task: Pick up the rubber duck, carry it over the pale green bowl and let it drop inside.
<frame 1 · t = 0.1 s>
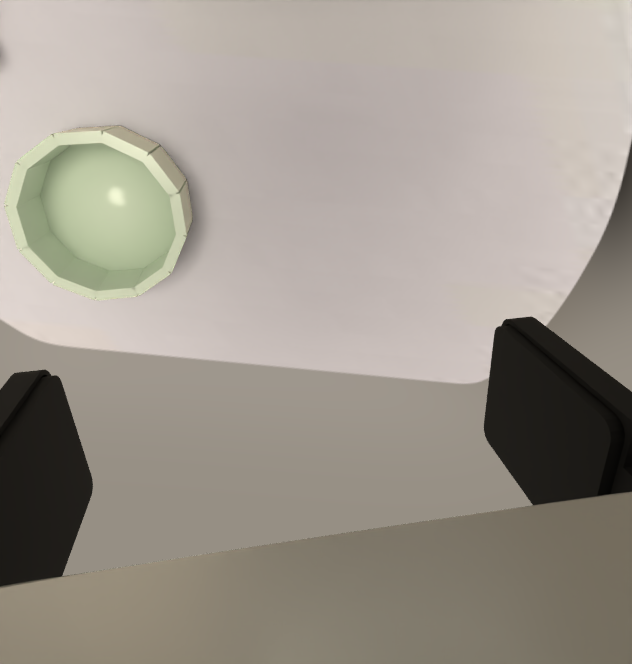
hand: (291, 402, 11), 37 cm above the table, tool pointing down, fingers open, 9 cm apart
pale green bowl: (115, 205, 43), on the table
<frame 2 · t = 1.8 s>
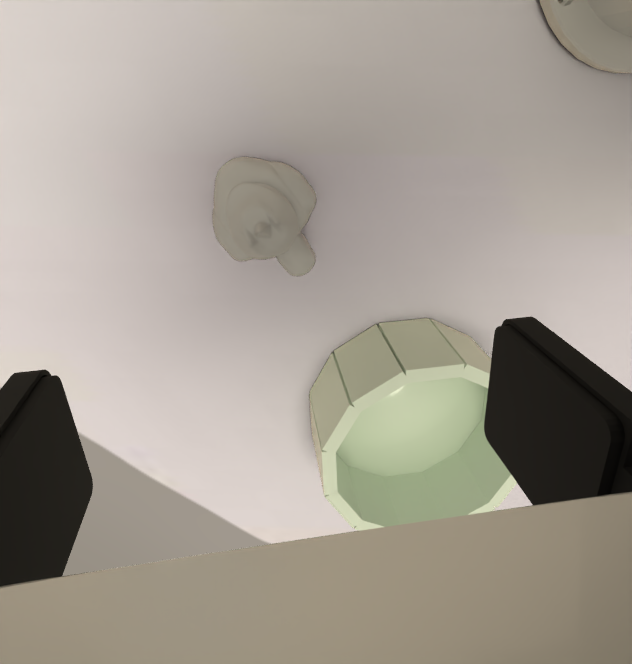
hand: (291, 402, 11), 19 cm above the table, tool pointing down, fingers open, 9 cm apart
rubber duck: (265, 207, 28), on the table
pale green bowl: (400, 403, 35), on the table
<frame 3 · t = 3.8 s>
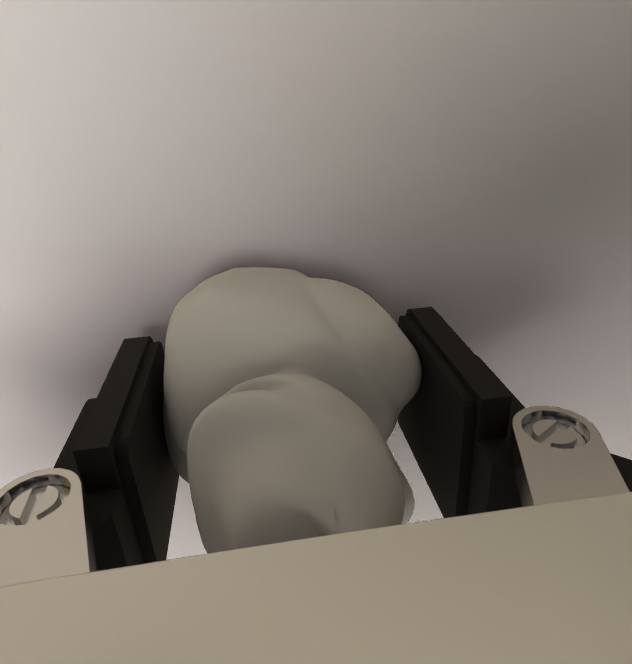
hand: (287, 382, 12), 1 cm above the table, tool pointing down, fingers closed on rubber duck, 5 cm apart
rubber duck: (288, 353, 13), on the table, touching gripper
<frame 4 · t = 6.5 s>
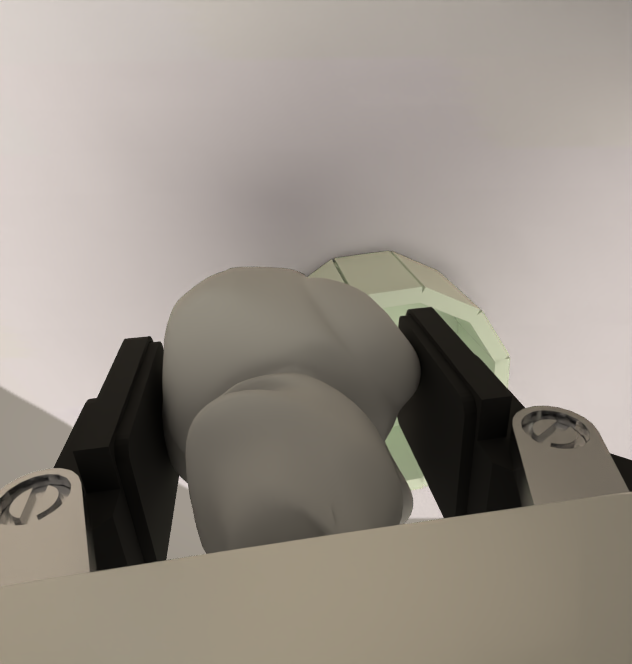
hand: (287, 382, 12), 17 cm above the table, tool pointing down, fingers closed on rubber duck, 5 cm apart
rubber duck: (287, 353, 13), point 16 cm above the table, touching gripper
pale green bowl: (367, 350, 32), on the table
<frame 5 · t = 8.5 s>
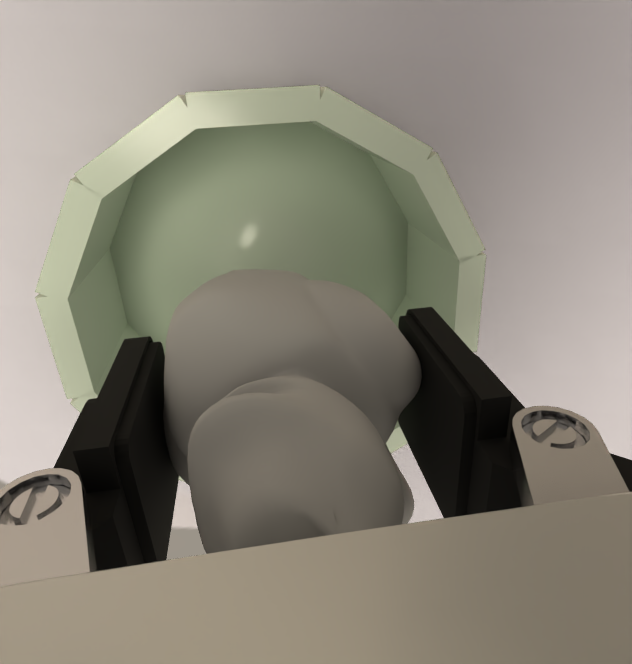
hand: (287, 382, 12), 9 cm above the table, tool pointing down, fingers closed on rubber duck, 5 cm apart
rubber duck: (288, 355, 13), point 8 cm above the table, touching gripper
pale green bowl: (265, 264, 20), on the table
when the fingers open (9 cm above the table, at t = 9.2 s): rubber duck drops 7 cm, resting on pale green bowl.
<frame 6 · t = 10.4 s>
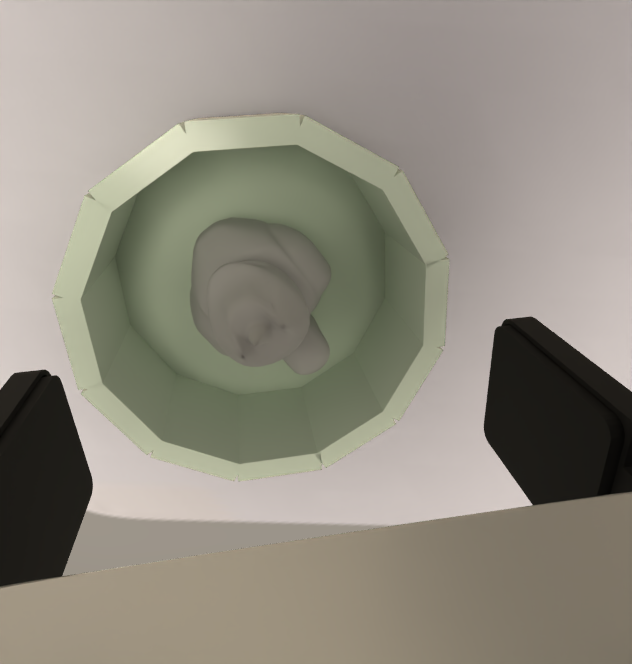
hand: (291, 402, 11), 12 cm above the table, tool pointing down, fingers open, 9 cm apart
rubber duck: (261, 277, 21), point 1 cm above the table, touching pale green bowl
pale green bowl: (256, 271, 22), on the table
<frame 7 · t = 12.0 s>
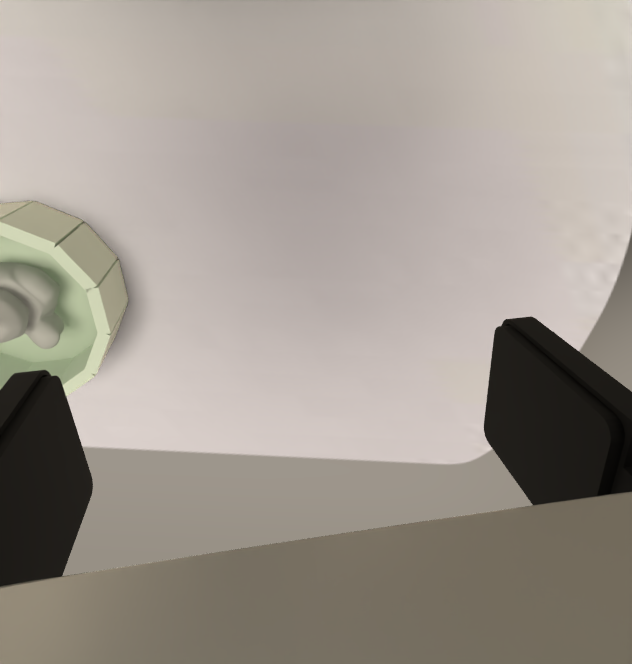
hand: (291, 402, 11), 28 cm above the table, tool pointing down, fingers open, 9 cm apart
rubber duck: (34, 293, 36), point 1 cm above the table, touching pale green bowl
pale green bowl: (36, 289, 37), on the table
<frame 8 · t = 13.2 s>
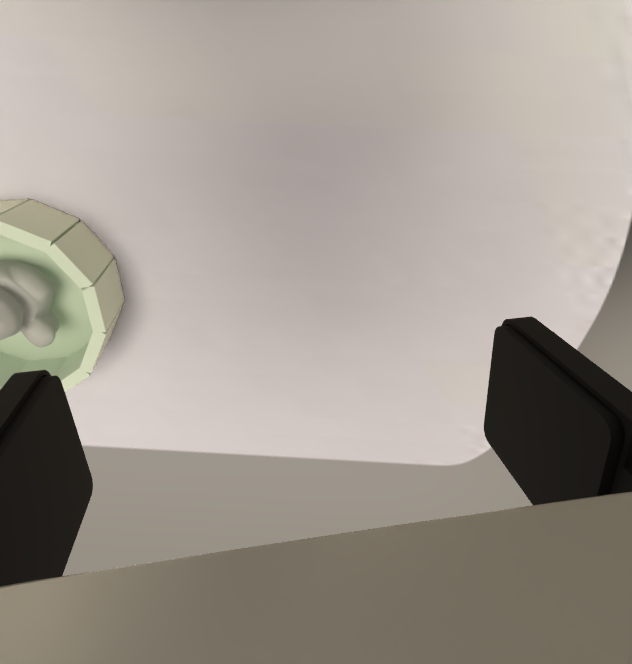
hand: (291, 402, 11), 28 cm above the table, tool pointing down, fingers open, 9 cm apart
rubber duck: (30, 291, 36), point 1 cm above the table, touching pale green bowl
pale green bowl: (31, 287, 37), on the table
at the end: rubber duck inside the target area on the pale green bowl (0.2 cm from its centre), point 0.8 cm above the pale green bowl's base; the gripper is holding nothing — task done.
